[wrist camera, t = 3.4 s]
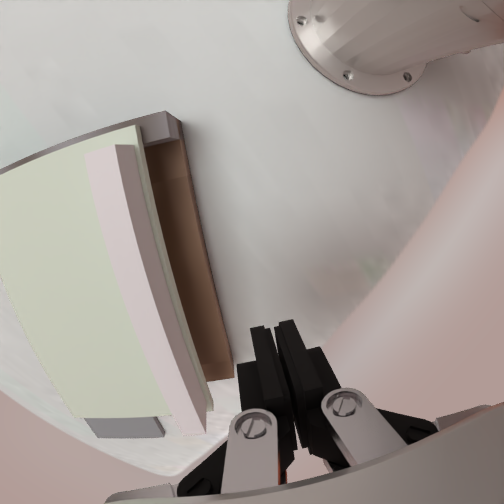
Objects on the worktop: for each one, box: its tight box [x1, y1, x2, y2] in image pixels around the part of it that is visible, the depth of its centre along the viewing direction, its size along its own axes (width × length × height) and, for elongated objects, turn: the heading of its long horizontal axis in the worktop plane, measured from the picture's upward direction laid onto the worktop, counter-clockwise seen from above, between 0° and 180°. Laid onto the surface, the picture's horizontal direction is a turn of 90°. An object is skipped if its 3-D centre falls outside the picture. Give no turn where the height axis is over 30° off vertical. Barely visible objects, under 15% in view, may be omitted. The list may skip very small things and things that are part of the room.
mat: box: [84, 416, 165, 438], centre depth 29 cm, size 9×9×1 cm
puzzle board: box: [0, 111, 234, 382], centre depth 21 cm, size 20×21×6 cm
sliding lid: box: [0, 125, 214, 436], centre depth 16 cm, size 12×19×4 cm, turn 10°
